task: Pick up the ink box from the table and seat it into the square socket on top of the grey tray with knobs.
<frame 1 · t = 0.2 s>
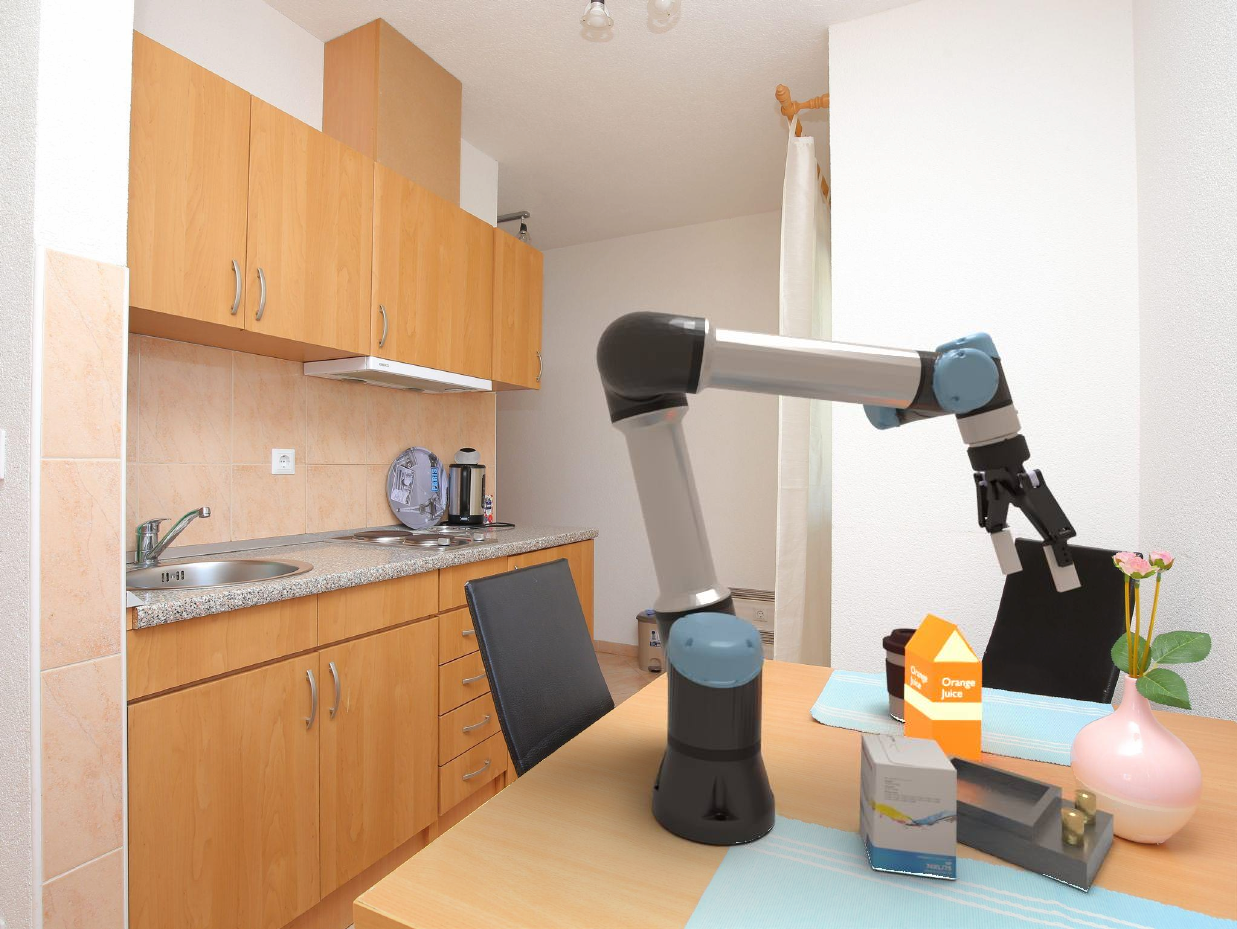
hand: (1038, 580, 93), 28 cm above the table, tool tilted 20°, fingers open, 13 cm apart
orange juice: (940, 748, 101), on the table
grey tray with knobs: (985, 822, 79), on the table
coffee cup: (912, 719, 113), on the table
ink box: (904, 855, 72), on the table
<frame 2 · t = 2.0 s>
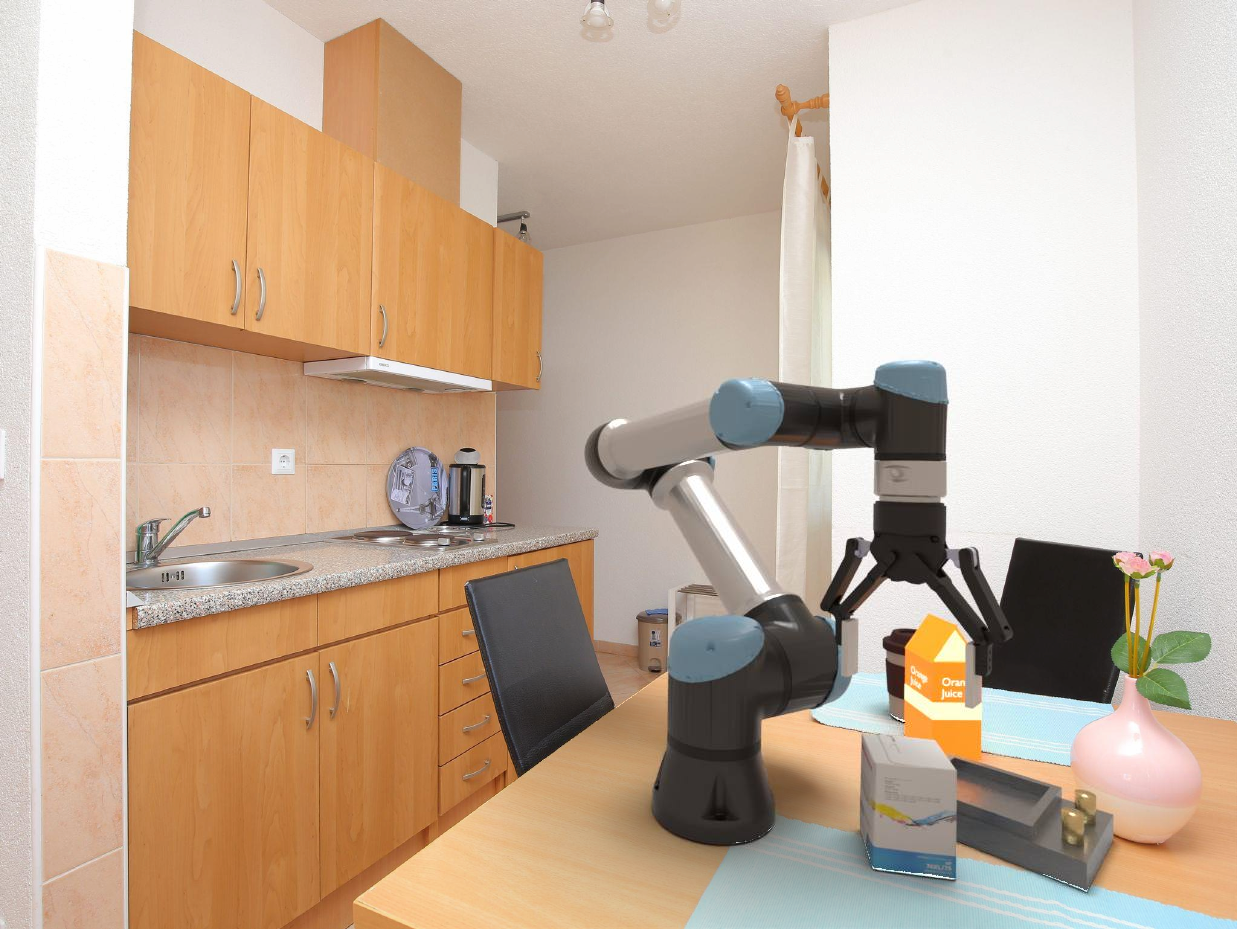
hand: (907, 688, 72), 18 cm above the table, tool pointing down, fingers open, 13 cm apart
nothing on the table moved.
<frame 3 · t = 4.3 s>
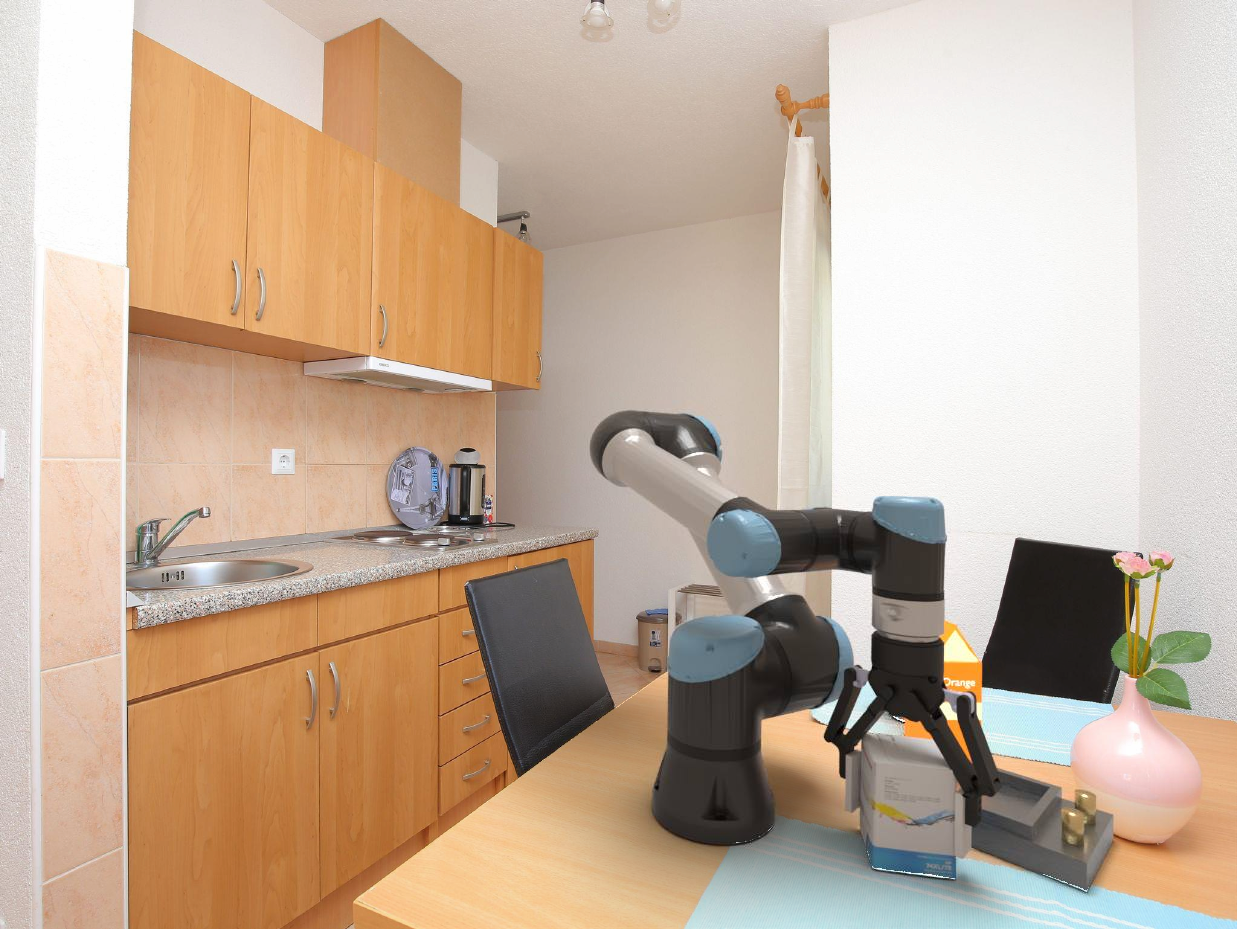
hand: (904, 829, 72), 3 cm above the table, tool pointing down, fingers closed on ink box, 11 cm apart
ink box: (904, 855, 72), on the table, touching gripper
everything else where it was.
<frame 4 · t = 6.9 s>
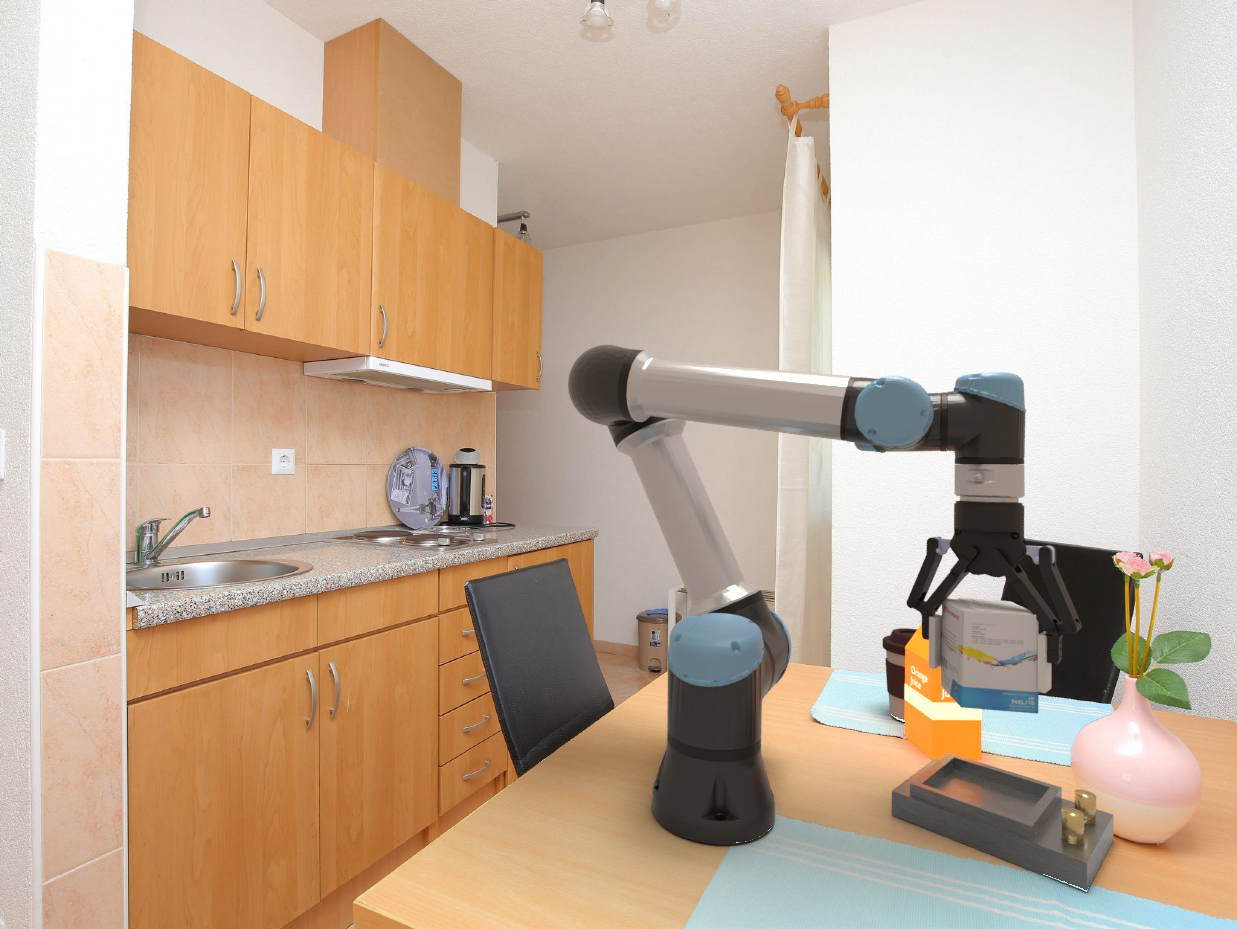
hand: (987, 677, 79), 18 cm above the table, tool pointing down, fingers closed on ink box, 11 cm apart
ink box: (986, 701, 79), point 15 cm above the table, touching gripper
everything else where it was.
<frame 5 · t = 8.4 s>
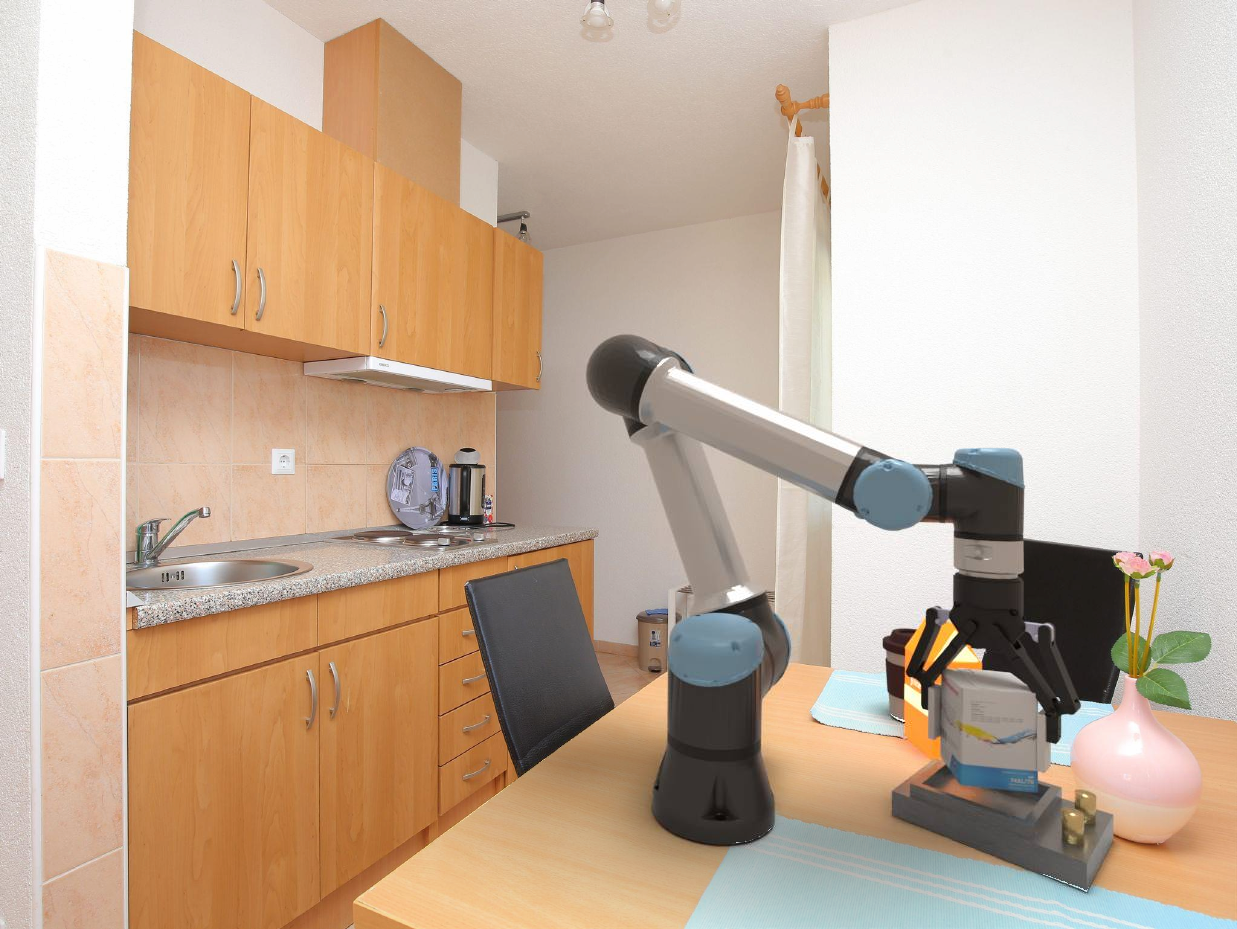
hand: (986, 751, 79), 9 cm above the table, tool pointing down, fingers closed on ink box, 11 cm apart
ink box: (985, 775, 79), point 6 cm above the table, touching gripper
everything else where it was.
when the fingers open (8 cm above the table, at t = 9.5 s): ink box stays where it is, resting on grey tray with knobs.
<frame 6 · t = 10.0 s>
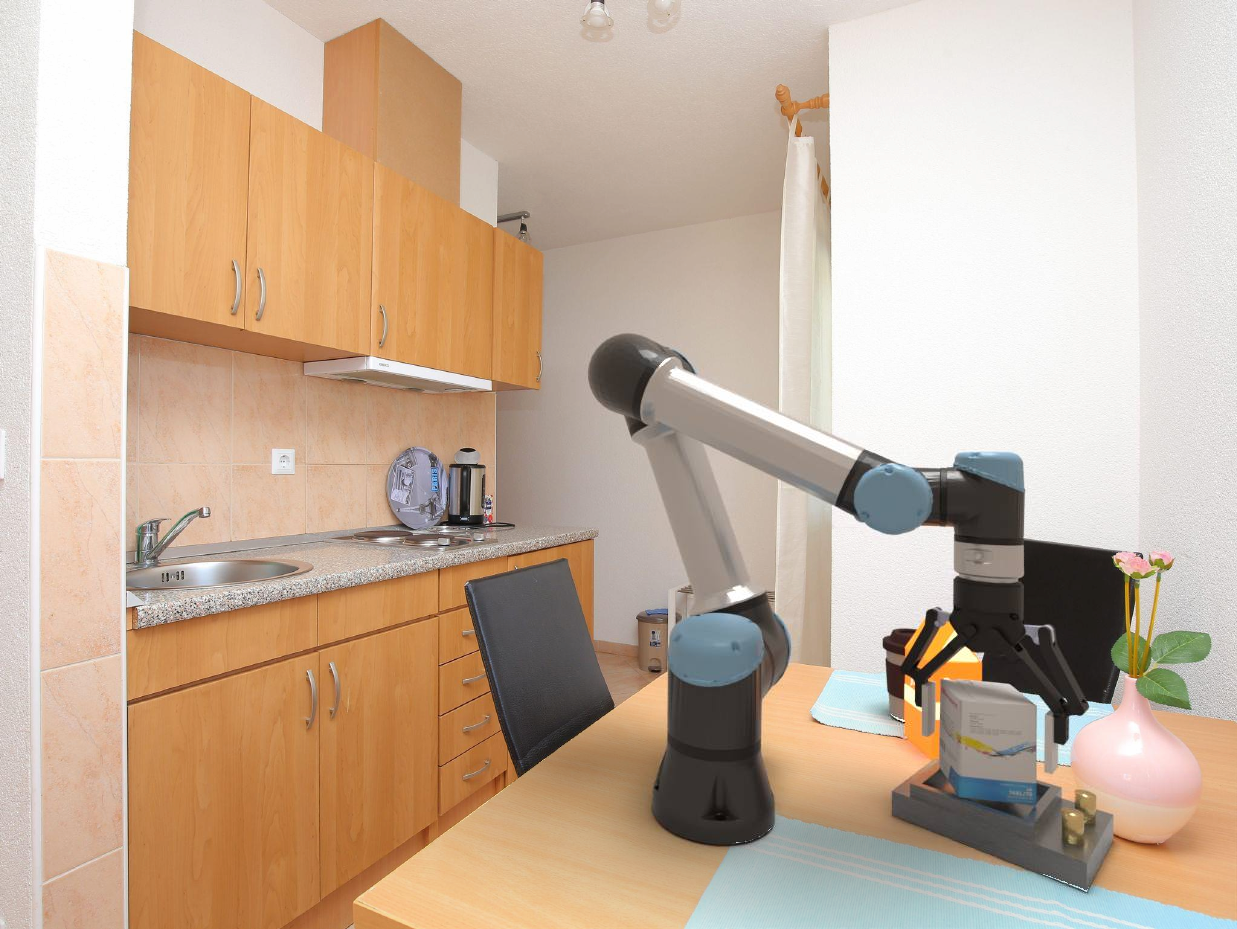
hand: (986, 750, 79), 9 cm above the table, tool pointing down, fingers open, 13 cm apart
ink box: (984, 787, 79), point 4 cm above the table, touching grey tray with knobs
everything else where it was.
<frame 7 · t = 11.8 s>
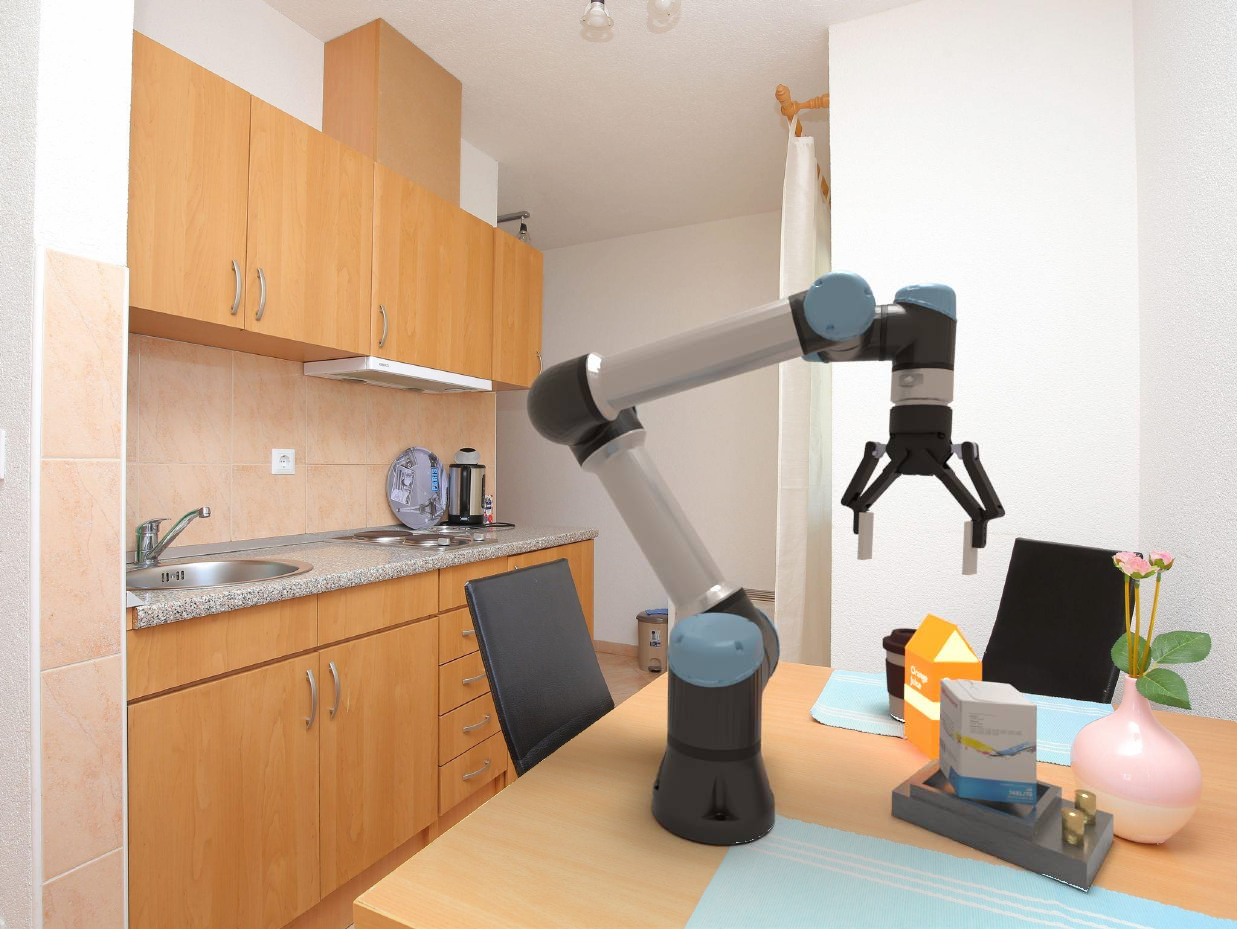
hand: (913, 566, 85), 30 cm above the table, tool pointing down, fingers open, 13 cm apart
nothing on the table moved.
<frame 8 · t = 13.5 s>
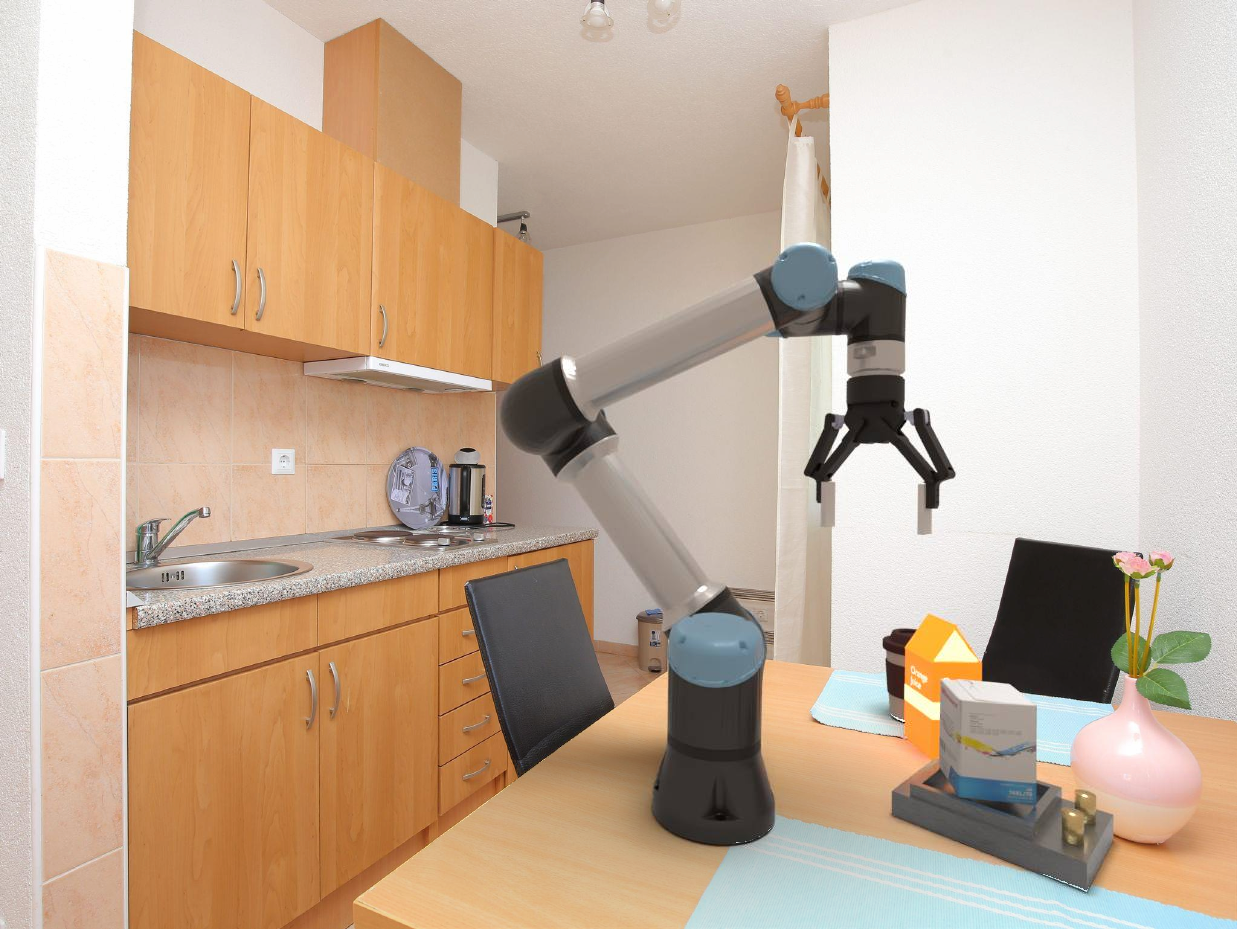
hand: (873, 530, 89), 35 cm above the table, tool pointing down, fingers open, 13 cm apart
nothing on the table moved.
at the end: ink box 0.1 cm from the grey tray with knobs (horizontally); ink box tilted 0°; ink box touching grey tray with knobs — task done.
